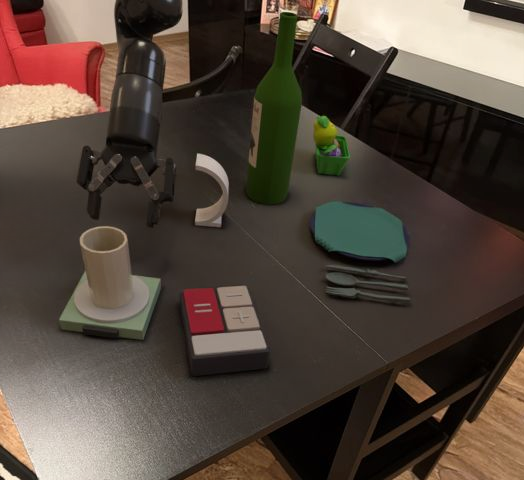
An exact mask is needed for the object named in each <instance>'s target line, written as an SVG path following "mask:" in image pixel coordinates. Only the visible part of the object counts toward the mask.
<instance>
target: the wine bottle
mask: <svg viewBox="0 0 524 480" xmlns="http://www.w3.org/2000/svg"><path fill="white" fill-rule="evenodd" d="M298 18H299V16H298V15H297V14H296V13H295V12H291V11H281V12H279V20H278V27H277V28H278V29H277V37H276V42H275V43H276V44H275V52H274V60H273V63H272V66H271V67H270V68H269V70H268V71H267V72H266V74H265V75H264V76H263V78H262V79H261V81H260V82H259V84H258V85H257V86H256V90H255V92H254V97H253V106H252V117H251V118H252V119H251V129H250V140H249V141H250V142H249V150H248V151H249V152H248V165H247V175H246V186H245V187H246V188H245V191H246V195H247V197H248V198H250V199H251V200H252V201H254V202H256V203H259V204H264V205H276V204H277V205H278V204H280V203H283V202H284V201H285V200H286V198H287V197H288V193H289V187H290V181H291V180H290V179H291V174H292V169H293V162H294V161H293V160H294V155H295V149H296V143H297V137H298V136H297V135H298V130H299V124H300V117H301V111H302V105H303V96H302V90H301V87H300V84H299V82H298V79H297V77H296V75H295V72H294V69H293V55H294V47H295V40H296V39H295V38H296V31H297V23H298Z"/></svg>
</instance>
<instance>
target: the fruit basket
mask: <svg viewBox="0 0 524 480" xmlns="http://www.w3.org/2000/svg"><path fill="white" fill-rule="evenodd" d="M338 133H339V132H338V129H337V127H336V126H335V124H334V123H332V122H331V121H330V119H329V117H327V116H326V115H321V116H320V115H318V116H317V117H316V120H314V122H313V133H312V134H313V136H312V137H313V140H314V143H315V158H316V168H317V174H324V175H330V176H340V175H341V174H342V172H343V169H344V167H346V163H347V162H348V161H349V159H350V158H351V155H350V151H349V146H348V141H347V137H346V136H343V135H338Z"/></svg>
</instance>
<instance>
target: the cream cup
mask: <svg viewBox="0 0 524 480" xmlns="http://www.w3.org/2000/svg"><path fill="white" fill-rule="evenodd" d="M79 246H80V251H81V256H82V260H83V265H84V272H85V271H86V276H87V281H88V286H89V290H90V295H91V299H92V301H93V302H94V303H95V304H96V305H98V306H100V307H102V308H108V309H113V308H119V307H122V306H124V305H126V304H128V303H129V302H130V301H131V300H132V298H133V295H134V293H133V292H134V291H133V282H132V275H133V274H132V266H131V258H130V257H131V256H130V250H129V240H128V235H127V234H126V233H125V231H123V230H122V229H121V228H117V227H115V226H109V225H103V226H102V225H101V226H96V227H92V228H89V229H86V230H85V231H84V232H82V234H81V236H80V237H79Z"/></svg>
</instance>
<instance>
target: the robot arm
mask: <svg viewBox="0 0 524 480" xmlns="http://www.w3.org/2000/svg"><path fill="white" fill-rule="evenodd" d="M183 3H184V2H183V0H115V2H114V7H113V8H114V9H113V17H114V18H113V20H114V28H115V37H116V44H117V49H118V55H117V63H116V70H115V79H114V84H113V87H112V91H111V94H110V95H111V96H110V103H109V113H108V120H107V128H106V138H105V145H104V148H103V149H102V150H97V149H93V148H91V146H89V145H84V146H83V147H82V149H81V155H80V161H79V165H78V171H77V177H76V184H77V185H79V186H80V187H81V188H82V189H83V190H85V191H87V193H88V196H87V205H86V212H87V214H88V215H89V217H90V219H92V220H95V221H99V220H100V215H101V206H102V198H103V197H102V196H101V194H102V193H104V192H105V190H107V189H108V188H111V186H112V185H114V183H115V182H117V183H118V184H120V185H128V184H129V185H132V186H135V187H140V186H142V185H143V186H144V188H145V190H146V191H147V193H148V194H149V196H150V199H149V200H148V206H147V207H148V208H147V214H146V222H145V224H146V227H147V228H149V229H154V228H155V225H156V226H157V225H158V223H159V220H160V213H161V206H162V205H163V204H164V203H167V202H168V203H173V202H174V200H175V193H176V192H175V191H176V177H177V165H176V163H175V161H174V159H173V158H172V157H167V158H166V159H161V158H159V159H158V157H157V154H158V146H159V145H158V144H159V138H160V129H161V123H162V119H163V114H162V113H163V91H164V83H165V77H166V67H167V65H166V64H167V62H166V60H167V59H166V55H165V53H164V50H163V49H162V48H161V47H160V46H159V45H158V44H157V43H155V41H153V38H154V36H155V35H158V34H160V33H162V32H164V31H168V30H169V29H172V28H174V27H175V26H177V25H178V24H179V23H180V21H181V19H182V17H183V13H184V4H183ZM99 161H102V162H103V164H104V166H103V168H101V170H99V172H98V173H97V175H96V177H95V178H94V179H93V180H92V178H93V175H94V169H95V168H94V167H95V166H97V165H98V163H99ZM158 168H159V169H160V172H161V174H162V175H163V176H164V181H163V191H158V190H157V187H156V186H155V184H154V182H153V181H152V179H151V177H152V175H153V174H154V173H155V172H156V171H157V170H158Z"/></svg>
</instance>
